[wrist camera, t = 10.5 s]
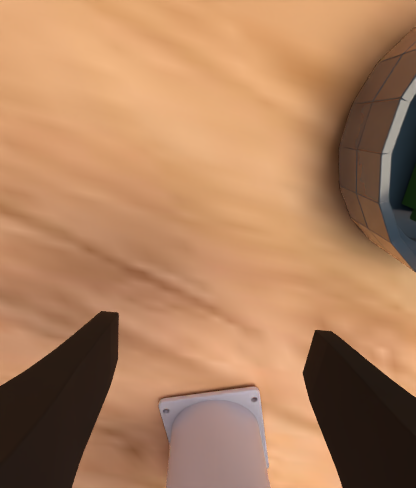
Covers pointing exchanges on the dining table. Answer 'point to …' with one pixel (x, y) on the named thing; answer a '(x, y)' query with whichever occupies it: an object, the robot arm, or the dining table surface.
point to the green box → (411, 195)
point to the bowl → (383, 153)
